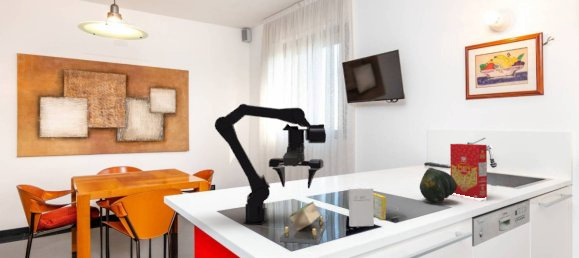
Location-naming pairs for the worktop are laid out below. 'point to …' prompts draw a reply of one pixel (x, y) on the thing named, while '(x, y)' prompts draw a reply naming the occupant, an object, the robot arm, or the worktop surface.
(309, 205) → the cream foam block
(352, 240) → the worktop surface
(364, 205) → the external hard drive
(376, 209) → the candy box
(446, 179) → the squash
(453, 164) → the food packaging
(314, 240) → the plate
